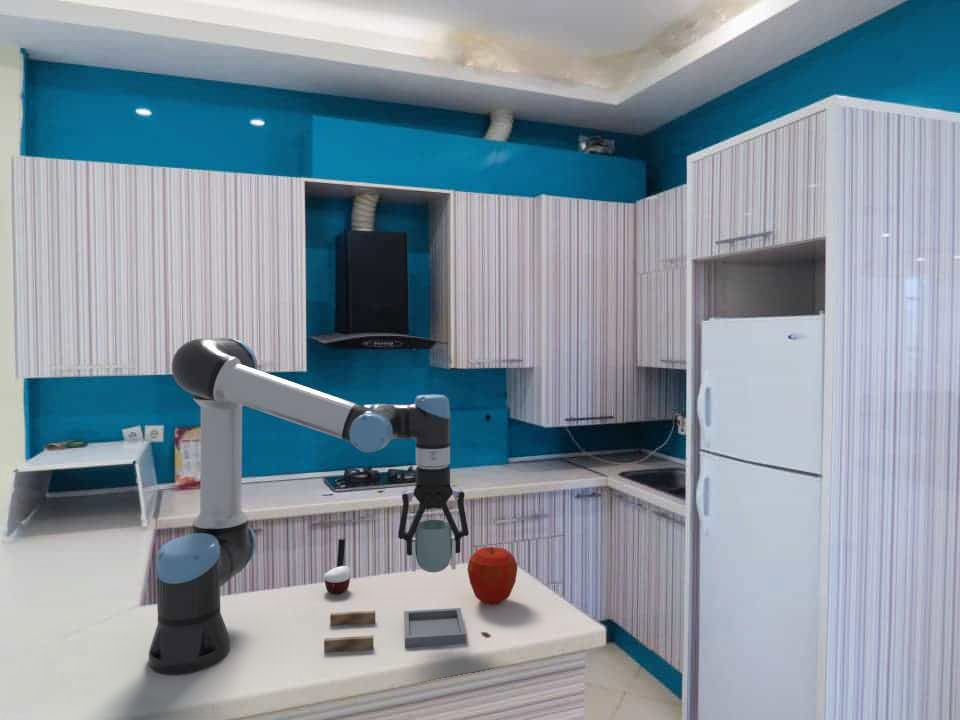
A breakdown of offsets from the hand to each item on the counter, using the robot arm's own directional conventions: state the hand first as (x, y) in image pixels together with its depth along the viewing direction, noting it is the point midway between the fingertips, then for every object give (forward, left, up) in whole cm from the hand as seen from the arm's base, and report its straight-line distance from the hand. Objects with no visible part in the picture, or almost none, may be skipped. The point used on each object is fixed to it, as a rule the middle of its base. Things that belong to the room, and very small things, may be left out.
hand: (433, 568), depth 139 cm
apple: (+15, +13, -14) cm, 24 cm away
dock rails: (-18, 0, -14) cm, 23 cm away
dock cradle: (0, 0, -14) cm, 14 cm away
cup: (0, 0, 0) cm, 0 cm away
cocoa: (-23, +25, -14) cm, 37 cm away
